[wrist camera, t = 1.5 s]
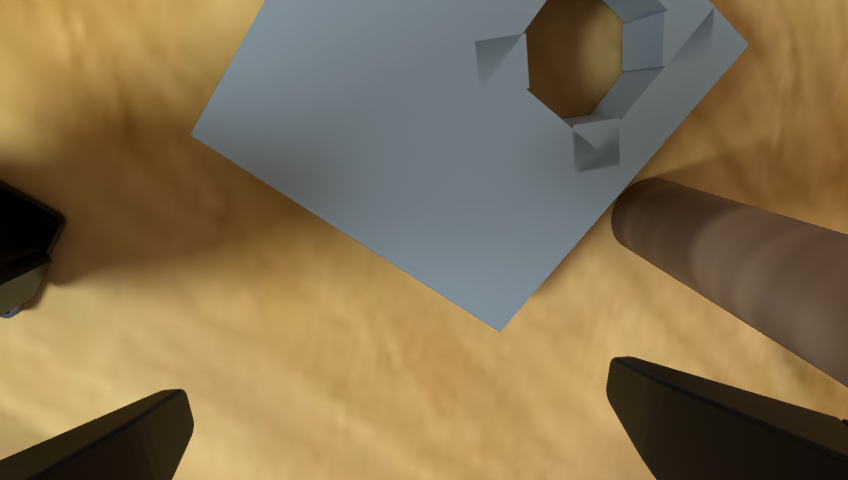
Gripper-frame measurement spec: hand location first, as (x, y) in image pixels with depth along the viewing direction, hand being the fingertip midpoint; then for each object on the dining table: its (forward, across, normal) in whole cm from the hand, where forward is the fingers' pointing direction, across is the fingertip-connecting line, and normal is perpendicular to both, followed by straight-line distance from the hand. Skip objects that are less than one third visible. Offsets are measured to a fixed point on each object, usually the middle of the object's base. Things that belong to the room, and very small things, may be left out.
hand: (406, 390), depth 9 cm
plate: (+13, +3, +6) cm, 15 cm away
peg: (+13, +14, 0) cm, 19 cm away
